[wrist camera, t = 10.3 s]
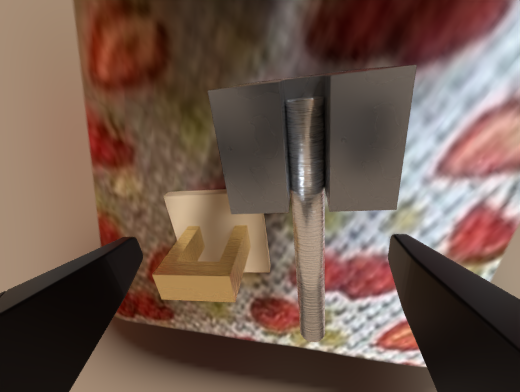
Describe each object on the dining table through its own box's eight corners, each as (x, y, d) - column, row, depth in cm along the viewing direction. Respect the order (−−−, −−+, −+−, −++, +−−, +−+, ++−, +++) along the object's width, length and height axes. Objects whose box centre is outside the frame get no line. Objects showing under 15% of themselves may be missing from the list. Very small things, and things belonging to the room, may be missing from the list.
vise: (361, 69, 17) (416, 64, 9) (350, 277, 25) (373, 373, 17) (247, 83, 18) (207, 90, 10) (271, 276, 26) (259, 364, 18)
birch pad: (260, 187, 22) (259, 192, 21) (270, 265, 26) (269, 272, 25) (168, 191, 24) (163, 196, 23) (190, 264, 27) (186, 271, 26)
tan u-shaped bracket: (247, 225, 23) (229, 276, 17) (250, 246, 24) (235, 302, 18) (187, 226, 24) (152, 274, 18) (193, 247, 25) (161, 299, 19)
